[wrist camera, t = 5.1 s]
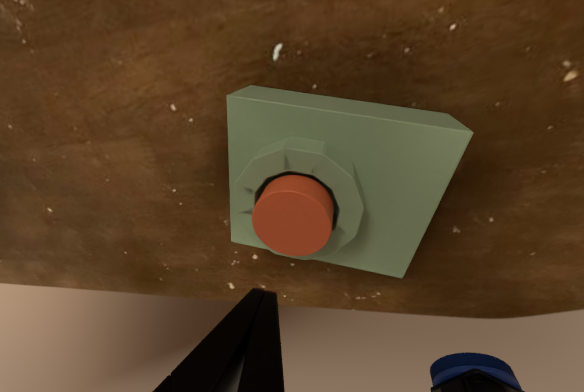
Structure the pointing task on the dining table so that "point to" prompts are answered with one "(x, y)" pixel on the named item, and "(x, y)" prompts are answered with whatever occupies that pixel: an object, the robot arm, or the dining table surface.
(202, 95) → the dining table surface
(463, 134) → the push button box
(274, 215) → the lid button
